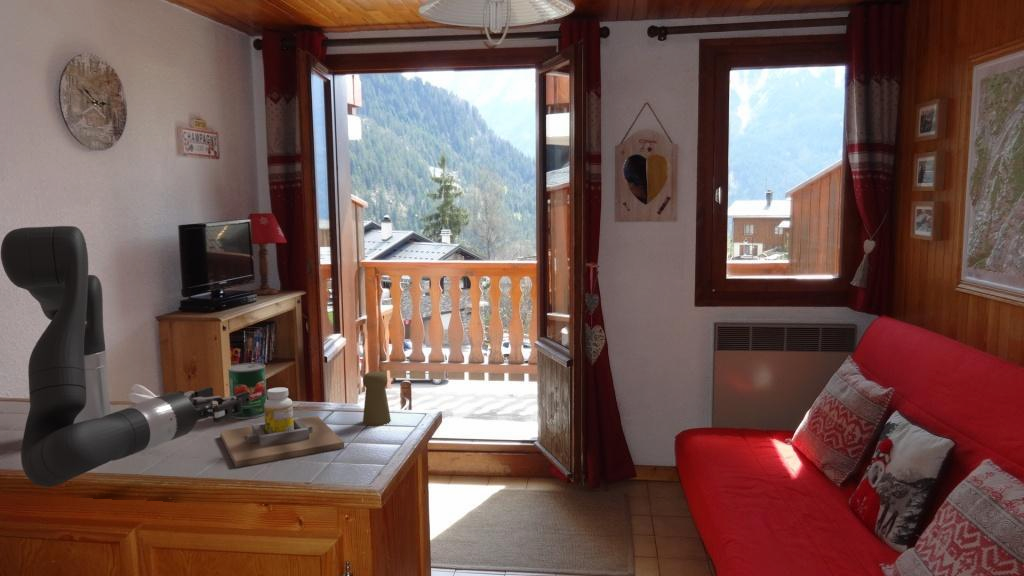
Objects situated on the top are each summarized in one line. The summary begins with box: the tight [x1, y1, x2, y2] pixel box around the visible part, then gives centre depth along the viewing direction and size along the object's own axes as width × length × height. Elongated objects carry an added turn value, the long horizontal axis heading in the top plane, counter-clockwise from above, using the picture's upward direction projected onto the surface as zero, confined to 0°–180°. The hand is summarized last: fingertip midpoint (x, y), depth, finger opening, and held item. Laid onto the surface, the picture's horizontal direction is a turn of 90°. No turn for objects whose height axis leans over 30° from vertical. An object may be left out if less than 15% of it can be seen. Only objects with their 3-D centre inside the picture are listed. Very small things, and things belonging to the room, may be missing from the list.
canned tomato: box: [227, 362, 268, 420], centre depth 165 cm, size 8×8×11 cm
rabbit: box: [127, 384, 159, 404], centre depth 147 cm, size 12×9×12 cm
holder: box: [219, 415, 345, 468], centre depth 145 cm, size 20×20×3 cm
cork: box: [362, 371, 392, 427], centre depth 158 cm, size 6×6×11 cm
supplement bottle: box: [264, 387, 294, 434], centre depth 145 cm, size 5×5×10 cm
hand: (229, 394), depth 132 cm, fingers open, 8 cm apart
